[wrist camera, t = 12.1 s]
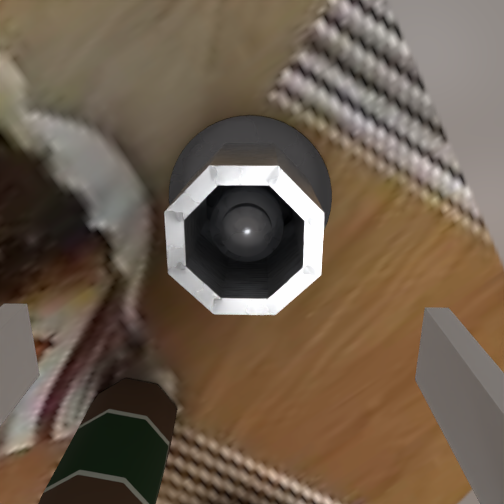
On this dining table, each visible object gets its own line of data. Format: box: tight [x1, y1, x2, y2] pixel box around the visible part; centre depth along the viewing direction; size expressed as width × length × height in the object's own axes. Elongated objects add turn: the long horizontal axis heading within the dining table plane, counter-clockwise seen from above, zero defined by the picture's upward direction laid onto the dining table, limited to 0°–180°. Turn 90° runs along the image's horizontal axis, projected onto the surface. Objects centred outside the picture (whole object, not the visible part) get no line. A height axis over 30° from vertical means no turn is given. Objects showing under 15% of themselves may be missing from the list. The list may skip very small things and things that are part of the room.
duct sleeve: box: [164, 143, 325, 315], centre depth 30 cm, size 8×8×10 cm
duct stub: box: [169, 115, 332, 262], centre depth 31 cm, size 12×12×9 cm
